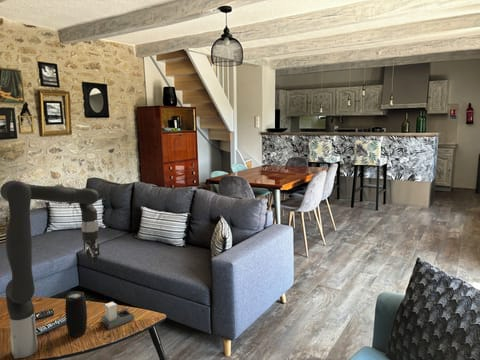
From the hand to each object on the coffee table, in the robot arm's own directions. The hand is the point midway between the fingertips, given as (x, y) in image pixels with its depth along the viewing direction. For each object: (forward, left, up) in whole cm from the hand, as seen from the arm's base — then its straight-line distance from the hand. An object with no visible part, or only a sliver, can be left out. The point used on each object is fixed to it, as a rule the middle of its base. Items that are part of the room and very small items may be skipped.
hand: (91, 261), depth 179 cm
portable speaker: (-10, -4, -32) cm, 34 cm away
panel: (+9, -6, -32) cm, 34 cm away
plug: (+6, -6, -32) cm, 33 cm away
